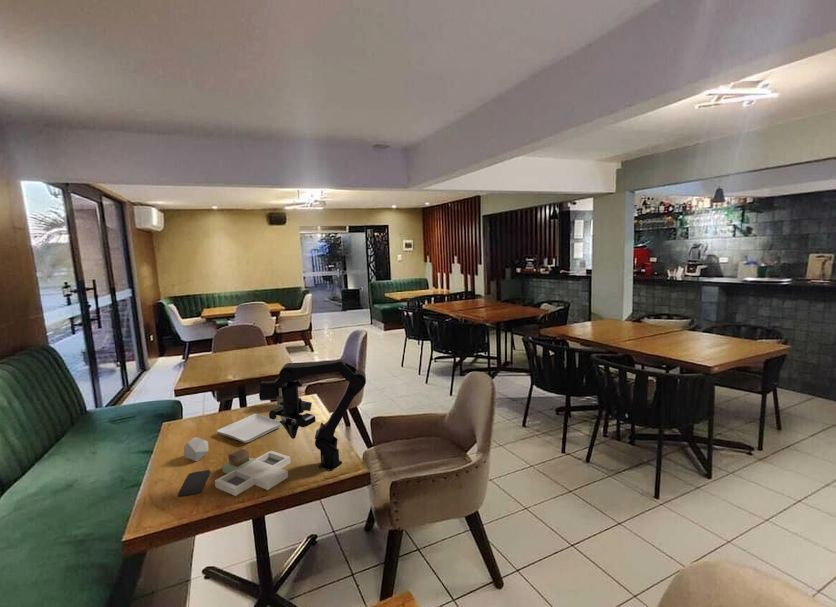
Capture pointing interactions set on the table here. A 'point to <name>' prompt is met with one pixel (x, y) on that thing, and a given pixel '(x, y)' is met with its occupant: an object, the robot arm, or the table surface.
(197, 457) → the die
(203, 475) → the phone
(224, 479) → the box
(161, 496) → the table surface
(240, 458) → the walnut block
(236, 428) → the salad plate
